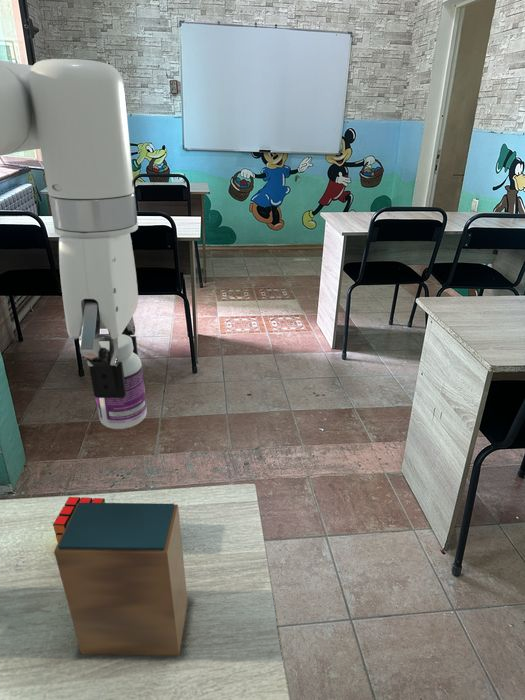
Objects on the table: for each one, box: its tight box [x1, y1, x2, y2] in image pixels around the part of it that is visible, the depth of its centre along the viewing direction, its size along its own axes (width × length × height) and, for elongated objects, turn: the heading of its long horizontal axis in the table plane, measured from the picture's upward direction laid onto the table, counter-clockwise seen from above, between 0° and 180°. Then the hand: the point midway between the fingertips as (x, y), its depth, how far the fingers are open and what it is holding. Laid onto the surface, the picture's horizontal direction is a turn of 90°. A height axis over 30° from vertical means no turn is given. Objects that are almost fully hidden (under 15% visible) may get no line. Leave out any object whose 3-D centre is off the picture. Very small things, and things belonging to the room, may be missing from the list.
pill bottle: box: [94, 334, 148, 430], centre depth 53 cm, size 5×5×10 cm
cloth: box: [58, 502, 175, 550], centre depth 54 cm, size 11×6×1 cm, turn 89°
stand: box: [53, 503, 188, 656], centre depth 58 cm, size 12×7×18 cm, turn 89°
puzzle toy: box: [52, 496, 106, 543], centre depth 73 cm, size 6×6×6 cm
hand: (118, 380), depth 53 cm, fingers closed on pill bottle, 5 cm apart
